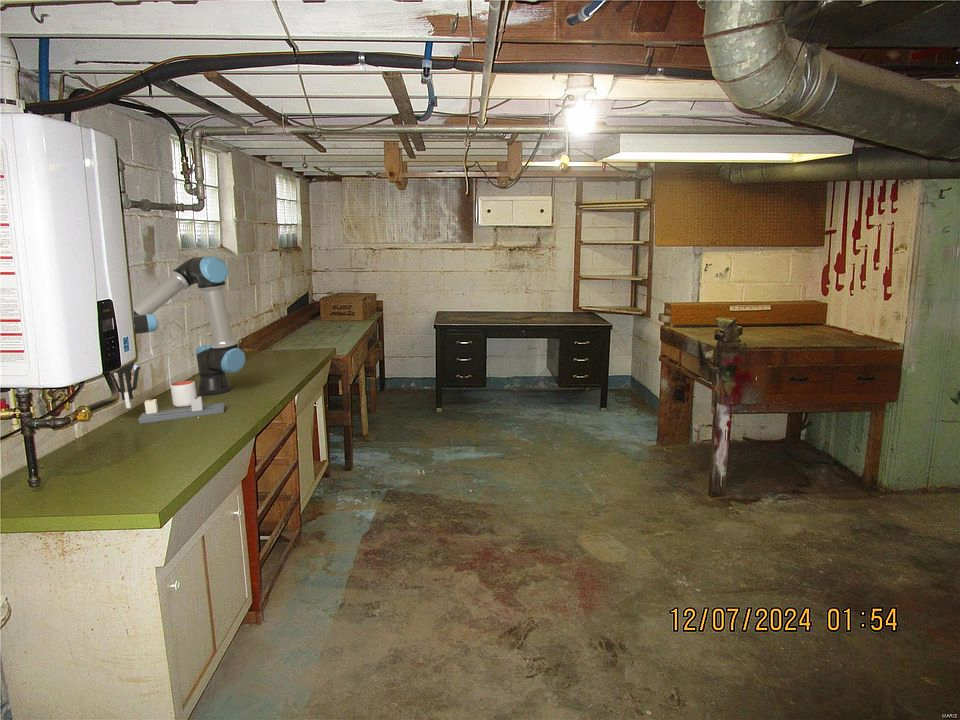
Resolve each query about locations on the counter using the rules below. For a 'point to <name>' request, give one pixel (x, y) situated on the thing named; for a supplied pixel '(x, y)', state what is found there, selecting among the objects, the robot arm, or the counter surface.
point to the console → (181, 413)
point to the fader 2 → (196, 404)
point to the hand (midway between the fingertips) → (128, 407)
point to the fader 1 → (151, 406)
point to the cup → (183, 393)
